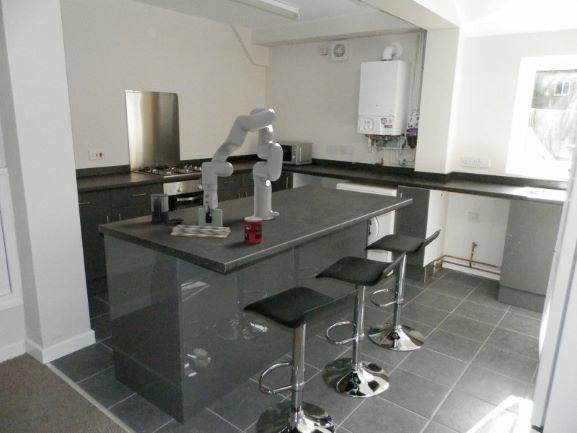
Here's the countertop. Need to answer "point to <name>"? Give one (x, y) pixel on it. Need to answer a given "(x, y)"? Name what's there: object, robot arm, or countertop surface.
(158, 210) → the milk frother
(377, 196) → the countertop surface
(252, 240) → the canned food
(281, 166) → the robot arm
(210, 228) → the door track
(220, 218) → the door panel
